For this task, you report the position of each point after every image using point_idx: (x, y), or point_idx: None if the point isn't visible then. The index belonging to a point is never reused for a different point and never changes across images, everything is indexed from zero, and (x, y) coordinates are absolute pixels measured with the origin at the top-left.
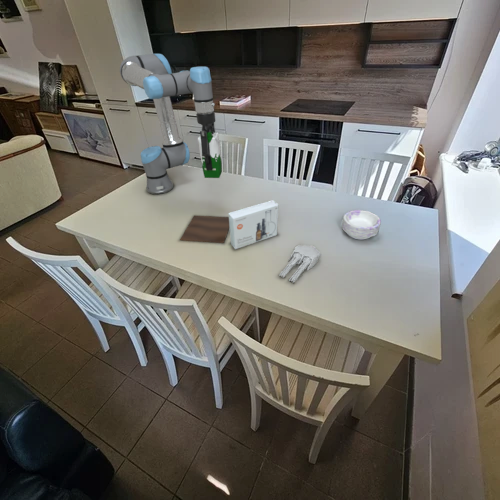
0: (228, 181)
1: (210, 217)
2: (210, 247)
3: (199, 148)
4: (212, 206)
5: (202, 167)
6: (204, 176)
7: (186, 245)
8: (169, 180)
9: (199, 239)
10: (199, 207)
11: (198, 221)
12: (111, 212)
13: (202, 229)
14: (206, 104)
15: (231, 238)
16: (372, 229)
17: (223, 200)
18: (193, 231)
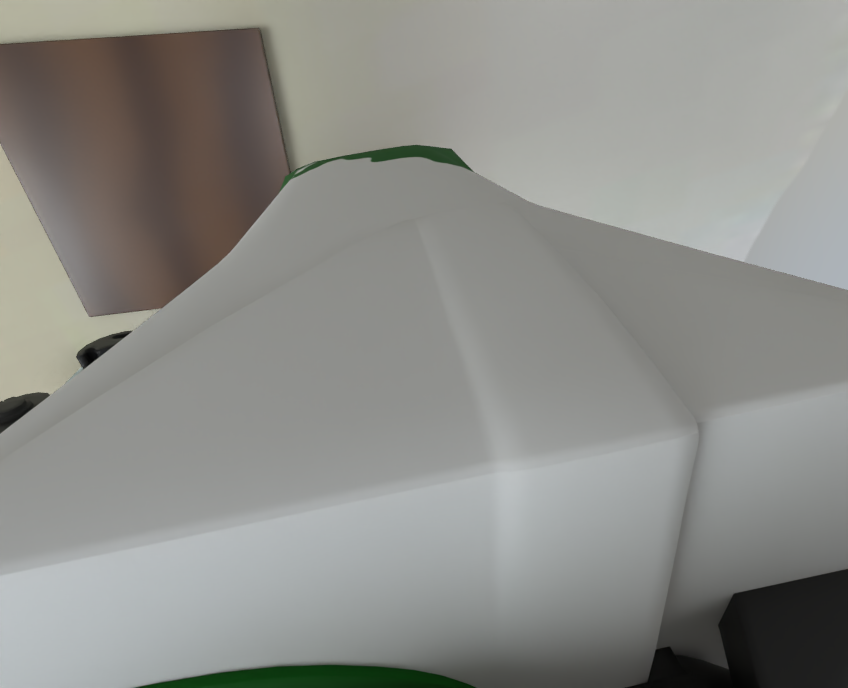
0: (736, 117)
1: (273, 163)
2: (21, 264)
3: (231, 251)
4: (411, 120)
5: (294, 173)
6: (284, 179)
7: None
8: None
9: (32, 184)
10: (382, 21)
11: (201, 97)
12: None
13: (132, 162)
14: None
15: (69, 379)
16: None
17: (490, 169)
18: (83, 109)
